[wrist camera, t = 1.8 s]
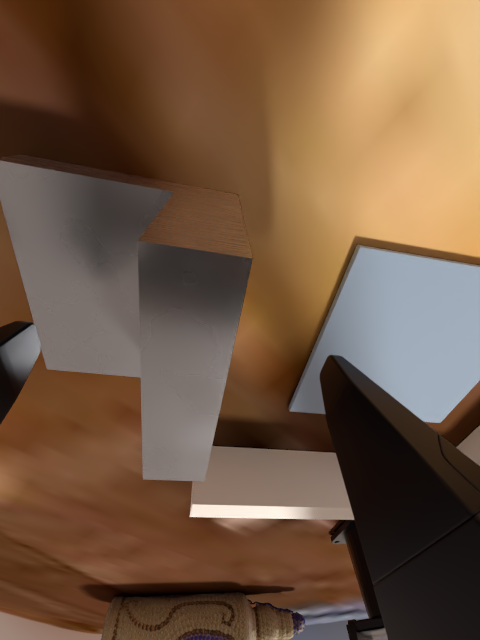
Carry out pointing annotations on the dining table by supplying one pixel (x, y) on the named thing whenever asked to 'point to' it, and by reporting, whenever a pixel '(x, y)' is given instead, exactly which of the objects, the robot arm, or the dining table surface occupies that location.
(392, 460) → the robot arm
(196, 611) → the decorative bottle
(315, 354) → the mat
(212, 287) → the bracket
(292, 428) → the dining table surface
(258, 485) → the l-shaped block
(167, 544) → the dining table surface
